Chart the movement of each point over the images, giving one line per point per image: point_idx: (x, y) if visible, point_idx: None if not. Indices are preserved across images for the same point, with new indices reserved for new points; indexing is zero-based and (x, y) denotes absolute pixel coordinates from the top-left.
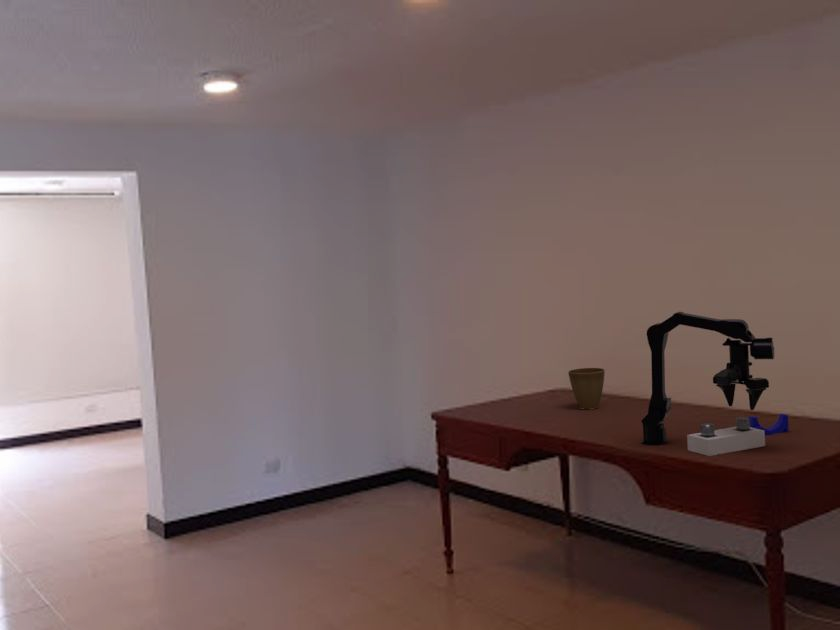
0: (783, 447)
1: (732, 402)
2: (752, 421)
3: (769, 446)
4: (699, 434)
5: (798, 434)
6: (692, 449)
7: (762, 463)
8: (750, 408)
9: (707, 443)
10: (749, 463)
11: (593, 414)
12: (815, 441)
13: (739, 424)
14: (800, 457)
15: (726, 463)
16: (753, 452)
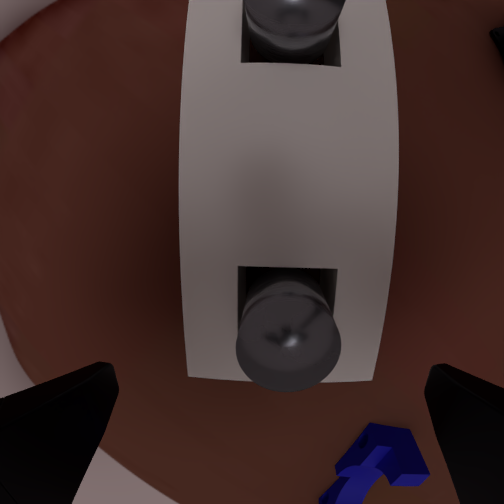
0: (146, 362)
1: (435, 419)
2: (401, 462)
3: None
4: (352, 17)
5: (276, 498)
6: None
7: (18, 120)
8: (98, 366)
9: None
10: (40, 81)
11: None
12: (169, 469)
13: (275, 290)
14: (16, 280)
15: (88, 15)
16: (139, 206)
